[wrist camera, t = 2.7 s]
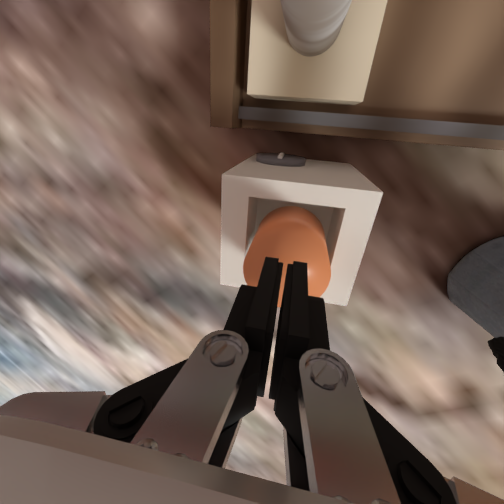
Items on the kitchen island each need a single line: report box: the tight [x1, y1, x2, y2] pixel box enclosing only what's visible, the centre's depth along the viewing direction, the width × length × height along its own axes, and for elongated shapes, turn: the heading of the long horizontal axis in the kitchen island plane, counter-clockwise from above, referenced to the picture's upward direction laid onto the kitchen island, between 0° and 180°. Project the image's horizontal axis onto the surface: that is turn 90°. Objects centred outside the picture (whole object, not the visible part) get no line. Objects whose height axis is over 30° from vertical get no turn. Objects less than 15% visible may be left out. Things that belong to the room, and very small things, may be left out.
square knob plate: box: [247, 0, 387, 105], centre depth 12 cm, size 7×7×9 cm
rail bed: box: [210, 0, 504, 150], centre depth 15 cm, size 24×11×4 cm, turn 87°
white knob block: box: [220, 153, 383, 306], centre depth 18 cm, size 8×8×10 cm
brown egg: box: [243, 206, 331, 307], centre depth 13 cm, size 4×4×4 cm
